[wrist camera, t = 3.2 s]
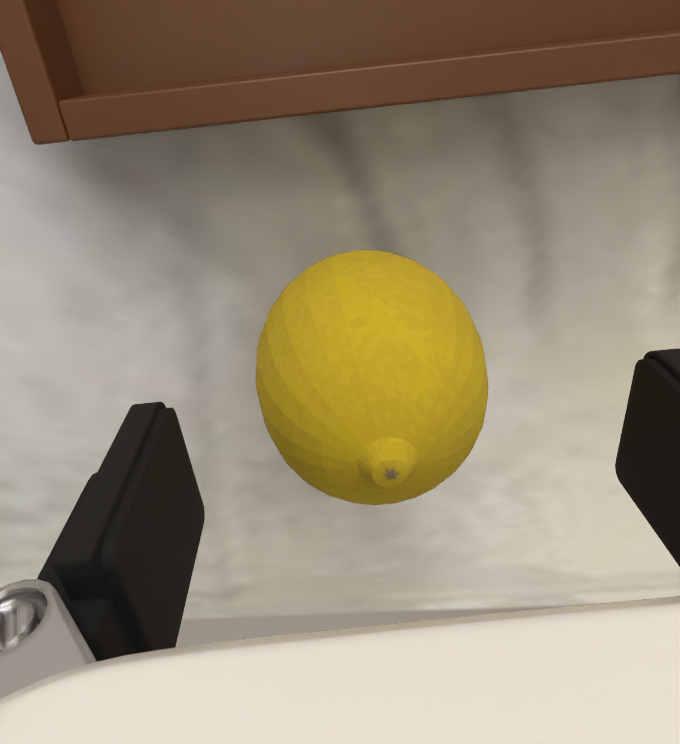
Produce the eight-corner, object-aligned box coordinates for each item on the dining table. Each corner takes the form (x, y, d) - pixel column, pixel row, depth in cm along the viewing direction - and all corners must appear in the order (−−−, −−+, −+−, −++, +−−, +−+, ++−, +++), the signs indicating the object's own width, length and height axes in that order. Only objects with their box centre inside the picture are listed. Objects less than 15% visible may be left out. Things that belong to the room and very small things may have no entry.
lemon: (479, 297, 17) (597, 462, 10) (356, 408, 19) (387, 611, 12) (352, 172, 15) (394, 276, 8) (227, 311, 17) (178, 489, 10)
